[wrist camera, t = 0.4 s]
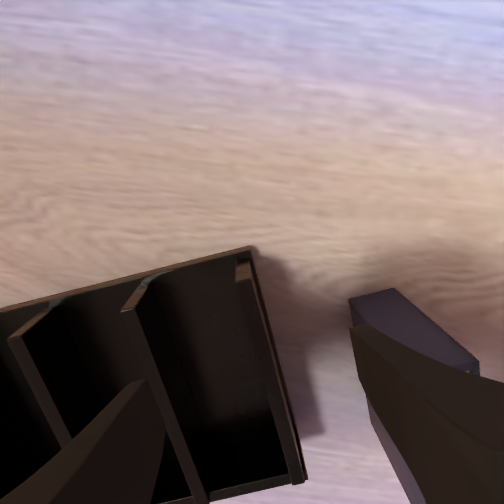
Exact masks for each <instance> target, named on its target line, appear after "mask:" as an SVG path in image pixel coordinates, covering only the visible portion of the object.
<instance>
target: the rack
mask: <svg viewBox="0 0 504 504" xmlns="http://www.w3.org/2000/svg"><path fill="white" fill-rule="evenodd" d="M143 379H148V382H149V384H150V387H151V389H152V392H153V394H154V397H155V399H156V402H157V404H158V407H159V409H160V412H161V414H162V417H163V419H164V422H165V424H166V429H165V438H164V447H163V454H162V459H161V463H160V467H159V471H158V475H157V479H156V483H155V487H154V491H153V495H152V498H151V502H150V504H209V503H210V502H213V501H217V500H222V499H226V498H230V497H235V496H239V495H243V494H248V493H252V492H257V491H261V490H265V489H270V488H274V487H278V486H283V485H287V484H291V483H292V485H297V484H302V483H305V480H308V475H307V470H306V466H305V461H304V457H303V452H302V447H301V443H300V438H299V434H298V429H297V425H296V421H295V417H294V414H293V410H292V406H291V402H290V398H289V394H288V391H287V387H286V383H285V379H284V375H283V371H282V368H281V364H280V360H279V356H278V352H277V348H276V344H275V341H274V337H273V333H272V329H271V325H270V321H269V318H268V314H267V310H266V306H265V302H264V298H263V295H262V291H261V287H260V283H259V279H258V275H257V272H256V268H255V264H254V260H253V256H252V252H251V249H250V246H246V247H242V248H238V249H234V250H230V251H226V252H222V253H218V254H214V255H210V256H206V257H202V258H198V259H194V260H190V261H186V262H182V263H178V264H174V265H171V266H167V267H163V268H159V269H155V270H151V271H147V272H143V273H139V274H135V275H131V276H127V277H123V278H119V279H115V280H111V281H107V282H103V283H99V284H95V285H91V286H87V287H83V288H79V289H75V290H71V291H67V292H63V293H59V294H55V295H51V296H47V297H43V298H39V299H35V300H31V301H27V302H23V303H19V304H16V305H12V306H8V307H4V308H0V499H2V498H3V497H4V496H6V495H7V494H8V493H10V492H11V491H12V490H14V489H15V488H16V487H18V486H19V485H21V484H22V483H23V482H24V481H26V480H27V479H28V478H29V477H31V476H32V475H33V474H34V473H35V472H37V471H38V470H39V469H40V468H41V467H43V466H44V465H45V464H46V463H47V462H48V461H50V460H51V459H52V458H53V457H54V456H55V455H56V454H58V453H59V452H60V451H61V450H62V449H63V448H64V447H65V446H66V445H67V444H68V443H69V442H70V441H71V440H72V439H73V438H75V437H76V436H77V435H78V434H79V433H80V432H81V431H82V430H83V429H84V428H85V427H86V426H87V425H88V424H89V423H90V422H91V421H92V420H93V419H94V418H95V417H96V416H97V415H98V414H99V413H100V412H101V411H102V410H103V409H104V408H105V407H106V406H107V405H108V404H109V403H110V402H111V401H112V400H113V399H114V398H115V397H116V396H117V395H118V394H119V393H120V392H121V391H122V390H123V389H124V388H125V387H126V386H127V385H128V384H130V383H131V382H135V381H139V380H143Z"/></svg>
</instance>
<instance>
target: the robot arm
mask: <svg viewBox="0 0 504 504" xmlns="http://www.w3.org/2000/svg"><path fill="white" fill-rule="evenodd" d="M349 331H350V336H351V341H352V347H353V352H354V357H355V362H356V367H357V372H358V377H359V380H360V382H361V384H362V387H363V389H364V391H365V393H366V396H367V398H368V400H369V402H370V404H371V406H372V408H373V409H374V411H375V413H376V414H377V416H378V418H379V419H380V421H381V423H382V424H383V426H384V428H385V429H386V431H387V433H388V434H389V436H390V438H391V439H392V441H393V443H394V444H395V446H396V448H397V449H398V451H399V453H400V454H401V456H402V458H403V459H404V461H405V462H406V464H407V466H408V468H409V469H410V471H411V473H412V475H413V477H414V479H415V480H416V482H417V484H418V486H419V489H420V491H421V493H422V495H423V497H424V499H425V501H426V503H427V504H504V383H502V382H498V381H495V380H491V379H487V378H484V377H481V376H478V375H475V374H472V373H469V372H466V371H463V370H460V369H458V368H455V367H452V366H449V365H447V364H444V363H442V362H439V361H437V360H435V359H433V358H430V357H428V356H426V355H424V354H422V353H419V352H417V351H415V350H413V349H411V348H409V347H407V346H405V345H404V344H402V343H400V342H398V341H396V340H394V339H392V338H391V337H389V336H387V335H385V334H383V333H382V332H380V331H378V330H376V329H375V328H373V327H371V326H369V325H368V324H364V325H360V326H356V327H352V328H349ZM165 429H166V424H165V422H164V419H163V417H162V414H161V412H160V409H159V407H158V404H157V402H156V399H155V397H154V394H153V392H152V389H151V387H150V384H149V382H148V379H143V380H139V381H135V382H131V383H130V384H128V385H127V386H126V387H125V388H124V389H123V390H122V391H121V392H120V393H119V394H118V395H117V396H116V397H115V398H114V399H113V400H112V401H111V402H110V403H109V404H108V405H107V406H106V407H105V408H104V409H103V410H102V411H101V412H100V413H99V414H98V415H97V416H96V417H95V418H94V419H93V420H92V421H91V422H90V423H89V424H88V425H87V426H86V427H85V428H84V429H83V430H82V431H81V432H80V433H79V434H78V435H77V436H76V437H75V438H73V439H72V440H71V441H70V442H69V443H68V444H67V445H66V446H65V447H64V448H63V449H62V450H61V451H60V452H59V453H58V454H56V455H55V456H54V457H53V458H52V459H51V460H50V461H48V462H47V463H46V464H45V465H44V466H43V467H41V468H40V469H39V470H38V471H37V472H35V473H34V474H33V475H32V476H31V477H29V478H28V479H27V480H26V481H24V482H23V483H22V484H21V485H19V486H18V487H16V488H15V489H14V490H12V491H11V492H10V493H8V494H7V495H6V496H4V497H3V498H2V499H0V504H150V502H151V498H152V495H153V491H154V487H155V483H156V479H157V475H158V471H159V467H160V463H161V459H162V454H163V447H164V438H165Z"/></svg>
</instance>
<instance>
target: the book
mask: <svg viewBox="0 0 504 504" xmlns="http://www.w3.org/2000/svg"><path fill="white" fill-rule="evenodd" d="M348 301H349V306H350V311H351V317H352V322H353V327H356V326H360V325H364V324H368V325H369V326H371V327H373V328H375V329H376V330H378V331H380V332H382V333H383V334H385V335H387V336H389V337H391V338H392V339H394V340H396V341H398V342H400V343H402V344H404V345H405V346H407V347H409V348H411V349H413V350H415V351H417V352H419V353H422V354H424V355H426V356H428V357H430V358H433V359H435V360H437V361H439V362H442V363H444V364H447V365H449V366H452V367H455V368H458V369H460V370H463V371H466V372H469V373H472V374H475V375H478V376H480V368H479V360H478V359H476V358H475V357H474V356H473V355H472V354H471V353H469V352H468V351H467V350H466V349H465V348H464V347H462V346H461V345H460V344H459V343H458V342H457V341H456V340H454V339H453V338H452V337H451V336H450V335H449V334H447V333H446V332H445V331H444V330H443V329H442V328H440V327H439V326H438V325H437V324H436V323H435V322H433V321H432V320H431V319H430V318H429V317H428V316H426V315H425V314H424V313H423V312H422V311H421V310H419V309H418V308H417V307H416V306H415V305H414V304H413V303H411V302H410V301H409V300H408V299H407V298H406V297H404V296H403V295H402V294H401V293H400V292H399V291H397V290H396V289H395V288H391V289H388V290H384V291H379V292H375V293H371V294H367V295H363V296H359V297H355V298H351V299H348ZM366 398H367V396H366ZM367 404H368V409H369V415H370V420H371V424H372V426H373V428H374V430H375V432H376V434H377V436H378V438H379V440H380V442H381V444H382V446H383V448H384V450H385V452H386V454H387V456H388V458H389V461H390V463H391V465H392V467H393V469H394V471H395V473H396V475H397V477H398V479H399V481H400V483H401V485H402V487H403V489H404V491H405V493H406V495H407V497H408V499H409V501H410V503H411V504H427V503H426V501H425V499H424V497H423V495H422V493H421V491H420V489H419V486H418V484H417V482H416V480H415V479H414V477H413V475H412V473H411V471H410V469H409V468H408V466H407V464H406V462H405V461H404V459H403V458H402V456H401V454H400V453H399V451H398V449H397V448H396V446H395V444H394V443H393V441H392V439H391V438H390V436H389V434H388V433H387V431H386V429H385V428H384V426H383V424H382V423H381V421H380V419H379V418H378V416H377V414H376V413H375V411H374V409H373V408H372V406H371V404H370V402H369V400H368V398H367Z"/></svg>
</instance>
